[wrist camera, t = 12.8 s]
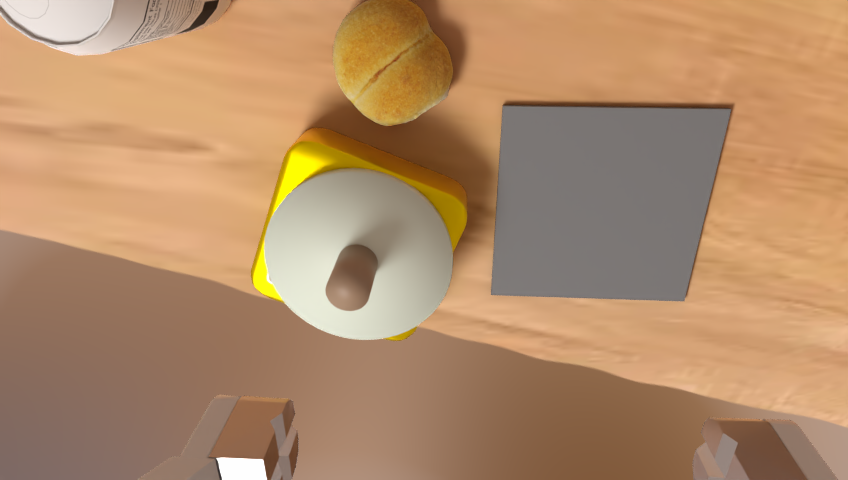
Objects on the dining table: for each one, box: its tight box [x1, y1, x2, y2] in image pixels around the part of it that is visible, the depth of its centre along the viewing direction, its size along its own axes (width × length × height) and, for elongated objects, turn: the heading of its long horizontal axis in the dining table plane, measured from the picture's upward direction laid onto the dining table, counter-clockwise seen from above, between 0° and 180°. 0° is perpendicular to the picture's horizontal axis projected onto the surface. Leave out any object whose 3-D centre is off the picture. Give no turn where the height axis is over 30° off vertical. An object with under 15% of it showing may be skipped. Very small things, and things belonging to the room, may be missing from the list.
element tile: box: [251, 128, 467, 341], centre depth 47 cm, size 15×15×5 cm
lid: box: [264, 168, 453, 340], centre depth 42 cm, size 15×15×6 cm
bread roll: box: [333, 0, 453, 126], centre depth 41 cm, size 8×9×4 cm
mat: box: [491, 105, 731, 301], centre depth 46 cm, size 17×17×1 cm
